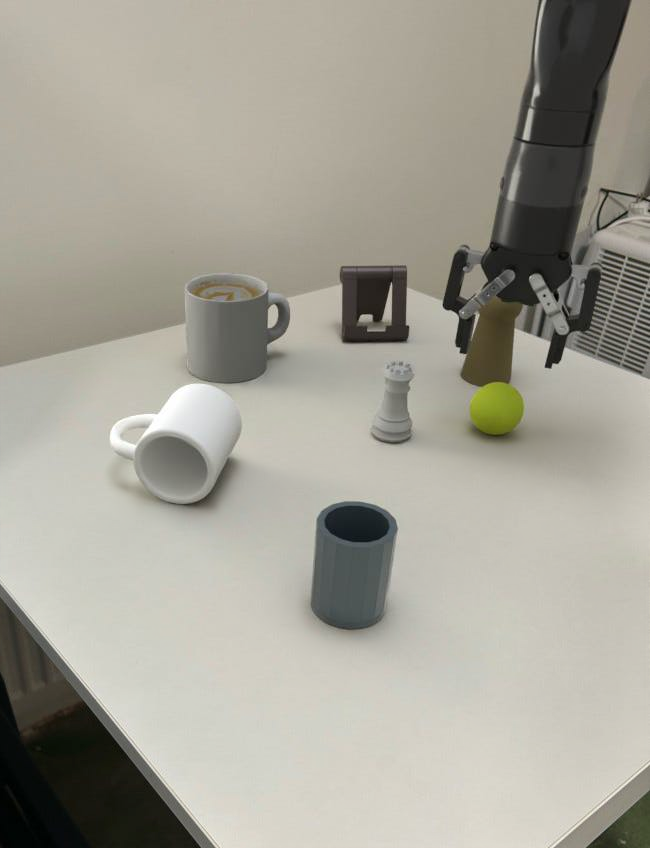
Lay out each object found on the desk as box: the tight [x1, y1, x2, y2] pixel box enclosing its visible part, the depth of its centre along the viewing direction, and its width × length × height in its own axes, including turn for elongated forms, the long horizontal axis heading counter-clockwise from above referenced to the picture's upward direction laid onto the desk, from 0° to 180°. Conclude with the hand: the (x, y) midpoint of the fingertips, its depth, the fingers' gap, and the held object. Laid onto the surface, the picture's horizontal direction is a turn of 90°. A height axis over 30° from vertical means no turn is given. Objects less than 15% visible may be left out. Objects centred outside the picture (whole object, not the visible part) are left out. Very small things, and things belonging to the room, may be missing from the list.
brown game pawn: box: [460, 295, 524, 387], centre depth 98 cm, size 6×6×11 cm
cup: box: [310, 500, 399, 630], centre depth 64 cm, size 6×6×8 cm
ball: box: [469, 382, 525, 436], centre depth 88 cm, size 6×6×6 cm
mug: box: [109, 382, 243, 505], centre depth 80 cm, size 12×10×8 cm
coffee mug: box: [184, 272, 291, 384], centre depth 101 cm, size 13×10×10 cm
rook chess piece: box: [370, 359, 415, 444], centre depth 87 cm, size 4×4×8 cm
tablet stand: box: [339, 264, 410, 342], centre depth 110 cm, size 9×8×8 cm
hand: (505, 358), depth 85 cm, fingers open, 8 cm apart
